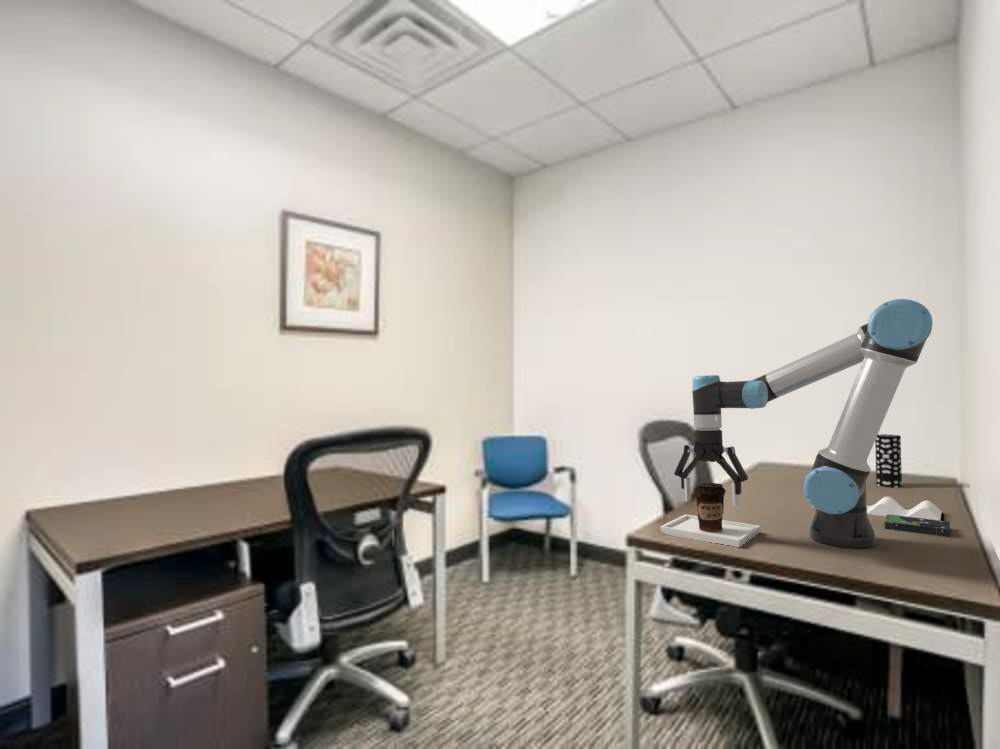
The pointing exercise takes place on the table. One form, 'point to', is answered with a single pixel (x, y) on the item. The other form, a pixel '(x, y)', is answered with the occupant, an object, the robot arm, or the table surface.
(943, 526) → the disk drive
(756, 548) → the table surface
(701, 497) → the coffee cup
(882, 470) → the white-spotted black cylinder
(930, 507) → the white wavy piece
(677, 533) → the tray
